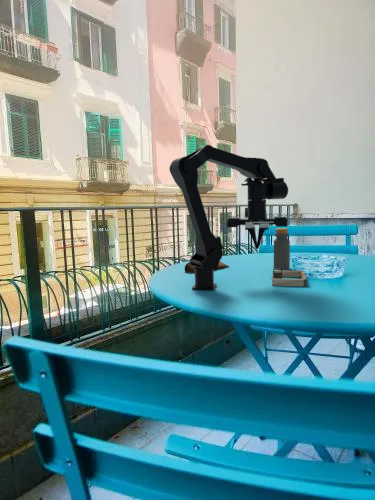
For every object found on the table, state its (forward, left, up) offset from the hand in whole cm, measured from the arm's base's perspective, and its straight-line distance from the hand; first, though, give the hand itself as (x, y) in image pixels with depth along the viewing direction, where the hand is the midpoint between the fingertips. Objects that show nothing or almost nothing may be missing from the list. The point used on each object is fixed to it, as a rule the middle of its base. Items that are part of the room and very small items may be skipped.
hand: (257, 248), depth 117 cm
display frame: (0, -10, -10) cm, 14 cm away
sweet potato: (+17, +20, -11) cm, 28 cm away
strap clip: (0, -6, -11) cm, 13 cm away
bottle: (+21, -8, -11) cm, 25 cm away
